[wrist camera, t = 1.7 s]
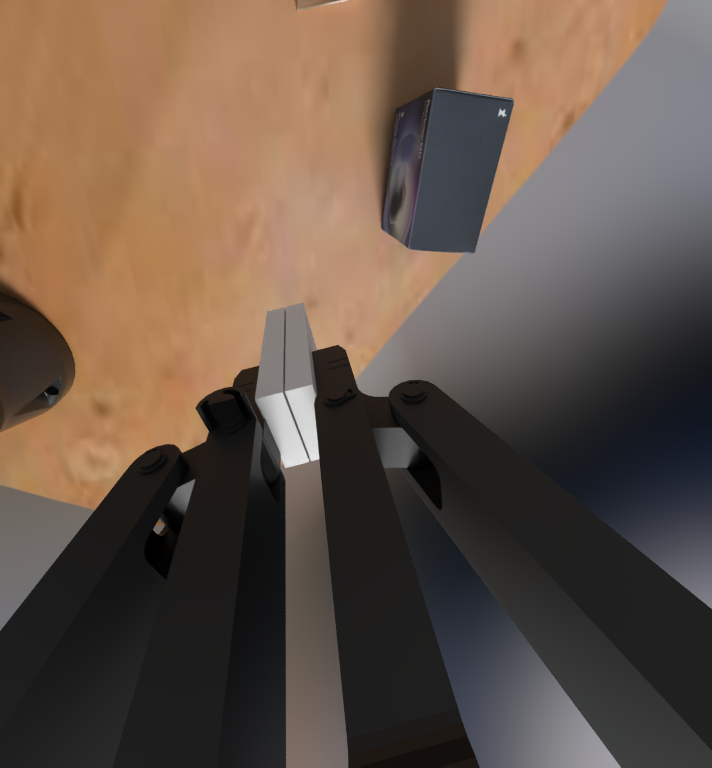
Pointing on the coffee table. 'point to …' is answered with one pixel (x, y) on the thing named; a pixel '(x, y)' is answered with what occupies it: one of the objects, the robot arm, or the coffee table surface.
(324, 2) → the walnut block
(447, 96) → the small box
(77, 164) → the coffee table surface
